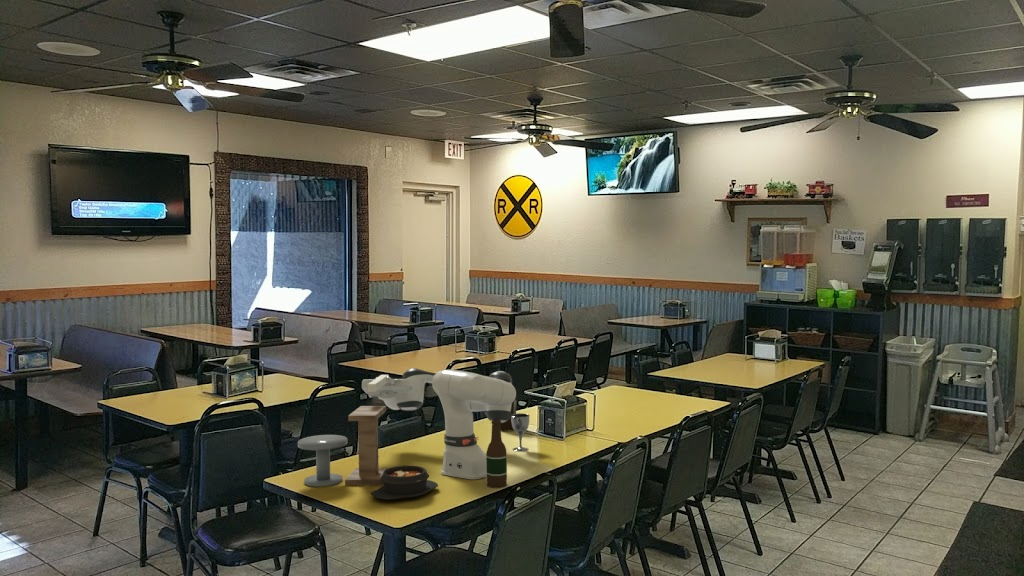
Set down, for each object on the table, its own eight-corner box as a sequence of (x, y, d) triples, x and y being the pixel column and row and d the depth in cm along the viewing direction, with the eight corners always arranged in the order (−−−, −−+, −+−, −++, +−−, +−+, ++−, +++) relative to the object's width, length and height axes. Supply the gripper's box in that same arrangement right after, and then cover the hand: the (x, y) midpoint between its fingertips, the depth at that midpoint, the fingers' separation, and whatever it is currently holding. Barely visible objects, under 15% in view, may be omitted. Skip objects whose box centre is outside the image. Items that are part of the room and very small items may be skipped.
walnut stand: (356, 472, 289) (355, 406, 288) (392, 472, 288) (391, 406, 287) (344, 485, 271) (342, 415, 270) (382, 486, 270) (380, 415, 269)
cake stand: (357, 480, 278) (356, 439, 277) (315, 491, 264) (315, 448, 264) (330, 471, 290) (329, 432, 289) (289, 482, 277) (288, 441, 276)
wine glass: (508, 450, 319) (508, 416, 319) (515, 446, 327) (515, 412, 326) (525, 452, 316) (525, 417, 316) (532, 448, 324) (532, 414, 323)
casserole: (390, 509, 245) (390, 484, 245) (360, 496, 258) (359, 473, 258) (449, 492, 262) (449, 468, 262) (417, 481, 276) (417, 459, 275)
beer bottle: (511, 483, 272) (510, 418, 271) (501, 489, 265) (501, 422, 264) (492, 480, 275) (491, 416, 274) (482, 486, 268) (481, 421, 267)
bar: (381, 381, 311) (381, 374, 311) (388, 381, 311) (388, 374, 311) (367, 391, 287) (367, 384, 287) (375, 391, 287) (375, 384, 287)
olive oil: (495, 431, 356) (494, 380, 355) (495, 426, 367) (494, 376, 366) (517, 431, 356) (516, 379, 356) (516, 426, 367) (516, 376, 366)
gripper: (412, 397, 317) (407, 385, 305) (365, 397, 318) (358, 386, 306) (413, 383, 320) (408, 371, 308) (367, 383, 321) (359, 371, 309)
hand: (382, 378), depth 307 cm, fingers closed on bar, 3 cm apart
